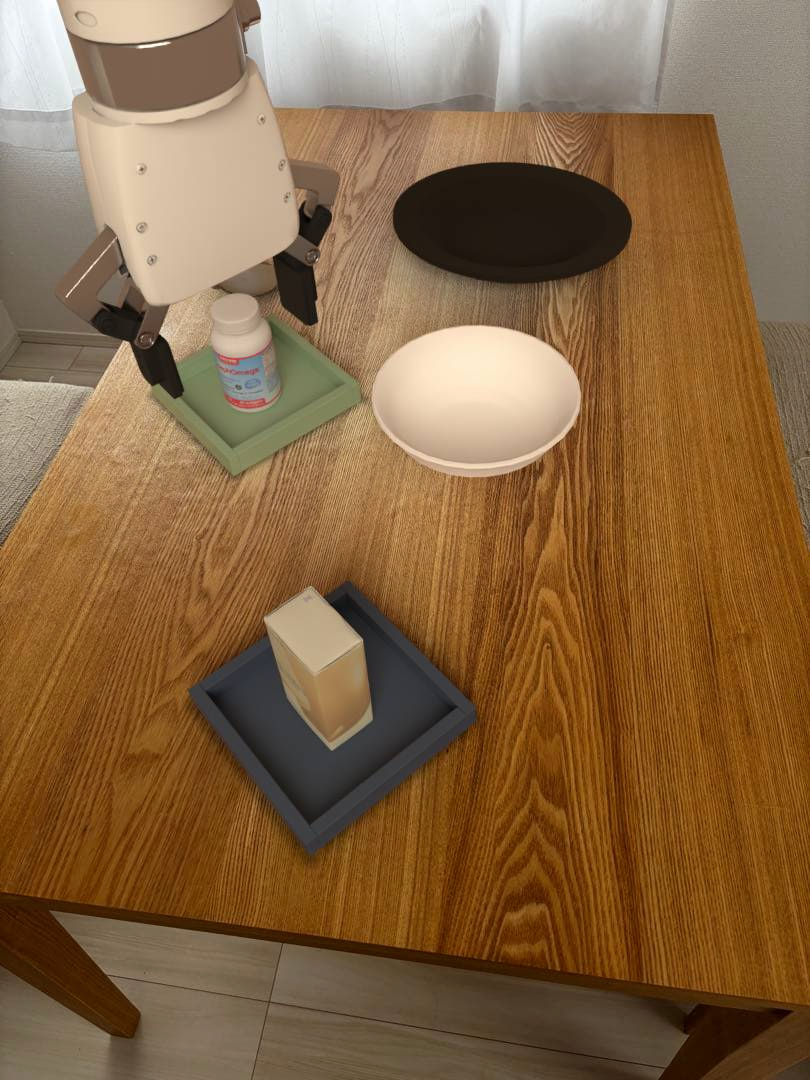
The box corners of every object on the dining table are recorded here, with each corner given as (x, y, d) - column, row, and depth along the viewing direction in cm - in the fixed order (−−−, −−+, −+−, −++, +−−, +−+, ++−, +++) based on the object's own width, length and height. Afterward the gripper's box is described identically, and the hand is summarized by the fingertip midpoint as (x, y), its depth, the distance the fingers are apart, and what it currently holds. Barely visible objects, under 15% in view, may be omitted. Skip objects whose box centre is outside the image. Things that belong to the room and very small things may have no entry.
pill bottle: (216, 409, 91) (191, 321, 82) (240, 371, 94) (218, 284, 85) (270, 419, 89) (249, 331, 80) (292, 381, 93) (274, 292, 84)
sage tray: (234, 476, 85) (228, 459, 83) (153, 395, 93) (147, 377, 91) (361, 400, 91) (359, 382, 89) (275, 330, 99) (272, 312, 97)
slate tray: (310, 856, 62) (306, 844, 60) (194, 704, 70) (187, 689, 68) (475, 722, 68) (476, 707, 66) (351, 595, 76) (348, 579, 74)
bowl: (410, 358, 95) (407, 310, 90) (590, 390, 90) (598, 341, 85) (348, 489, 83) (341, 442, 78) (551, 532, 79) (558, 486, 74)
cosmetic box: (285, 699, 69) (257, 615, 60) (328, 667, 71) (308, 580, 61) (333, 756, 66) (312, 676, 56) (378, 721, 68) (364, 639, 58)
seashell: (280, 314, 104) (279, 263, 107) (280, 297, 101) (279, 245, 104) (209, 312, 102) (210, 260, 106) (208, 294, 100) (209, 241, 103)
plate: (367, 297, 102) (363, 256, 98) (428, 191, 116) (426, 150, 111) (605, 336, 96) (612, 294, 91) (639, 219, 109) (647, 177, 105)
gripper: (270, -22, 45) (313, 265, 58) (-52, 90, 38) (80, 383, 52) (360, 19, 41) (384, 316, 54) (19, 151, 35) (141, 450, 48)
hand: (236, 349), depth 53 cm, fingers open, 9 cm apart
